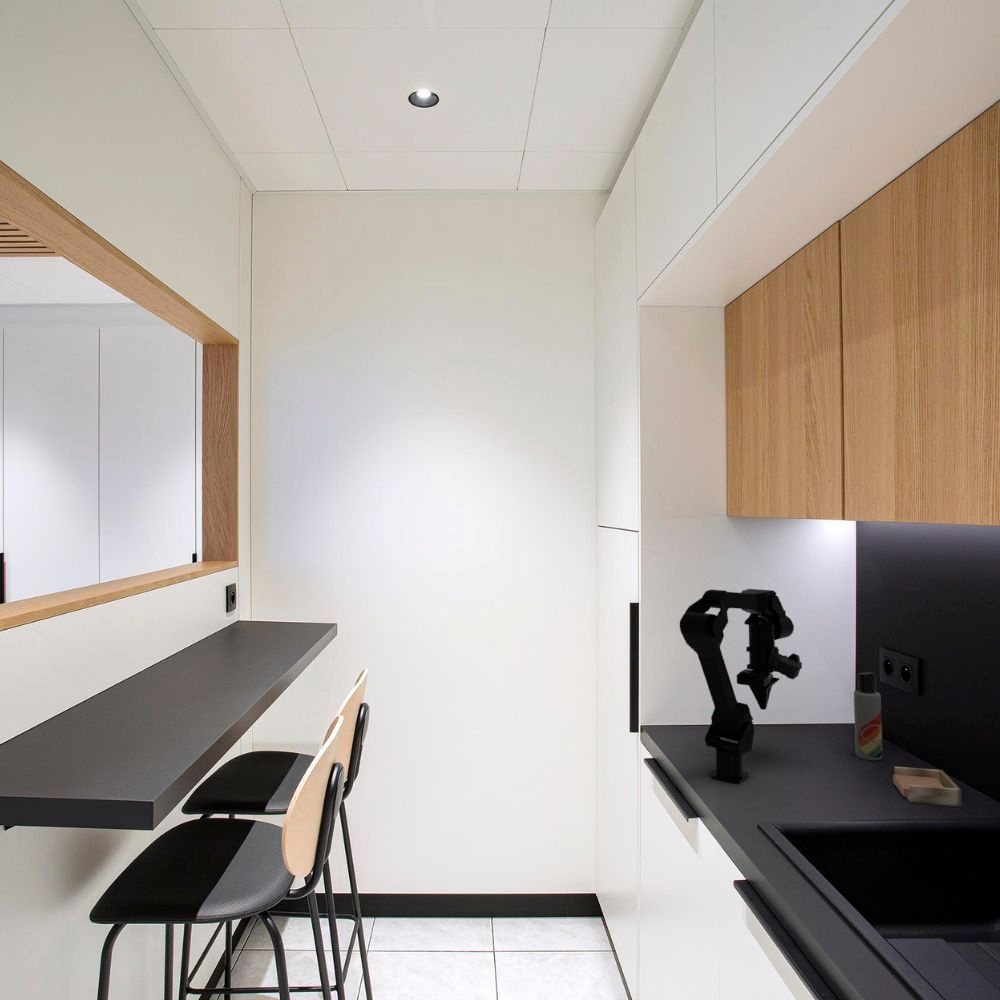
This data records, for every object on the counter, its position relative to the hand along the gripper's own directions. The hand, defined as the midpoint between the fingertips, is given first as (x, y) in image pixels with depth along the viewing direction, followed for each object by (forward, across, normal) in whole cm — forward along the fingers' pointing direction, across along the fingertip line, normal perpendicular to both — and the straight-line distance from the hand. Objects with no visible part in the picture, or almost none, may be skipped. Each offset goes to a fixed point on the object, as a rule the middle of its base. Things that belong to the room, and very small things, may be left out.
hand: (763, 709), depth 163 cm
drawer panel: (+11, -2, -28) cm, 30 cm away
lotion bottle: (+12, +17, -19) cm, 28 cm away
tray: (+12, -1, -33) cm, 35 cm away
